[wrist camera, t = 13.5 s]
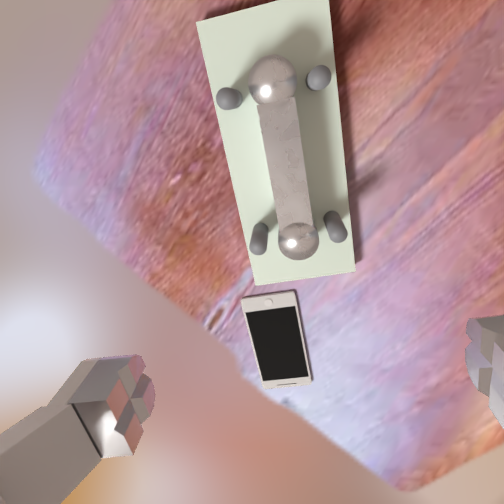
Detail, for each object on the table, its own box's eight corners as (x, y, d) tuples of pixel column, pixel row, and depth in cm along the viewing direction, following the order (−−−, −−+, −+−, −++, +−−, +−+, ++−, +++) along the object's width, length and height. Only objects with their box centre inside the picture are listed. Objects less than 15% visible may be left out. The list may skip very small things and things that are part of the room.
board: (325, -8, 31) (335, -34, 25) (353, 265, 42) (364, 293, 36) (199, 25, 33) (181, 9, 27) (256, 279, 44) (252, 308, 38)
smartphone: (294, 288, 44) (294, 292, 44) (311, 380, 50) (312, 385, 49) (240, 296, 46) (239, 300, 45) (263, 385, 51) (263, 389, 50)
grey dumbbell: (291, 54, 32) (292, 48, 29) (317, 242, 40) (321, 257, 36) (247, 65, 33) (243, 61, 29) (281, 248, 40) (281, 263, 36)
